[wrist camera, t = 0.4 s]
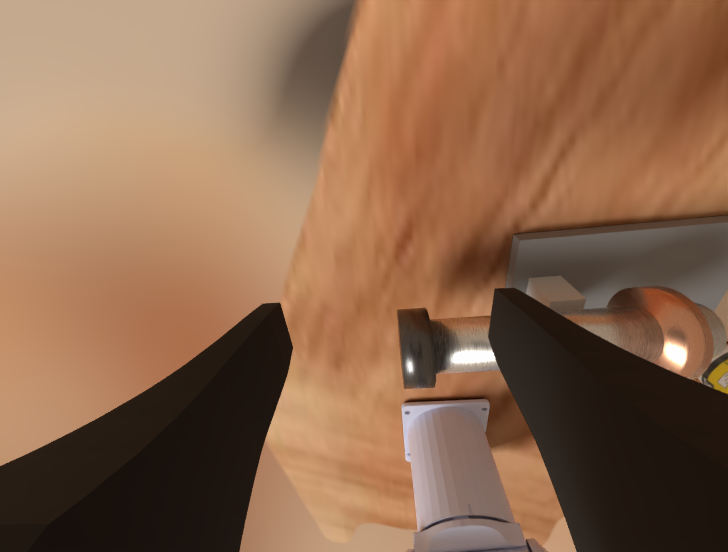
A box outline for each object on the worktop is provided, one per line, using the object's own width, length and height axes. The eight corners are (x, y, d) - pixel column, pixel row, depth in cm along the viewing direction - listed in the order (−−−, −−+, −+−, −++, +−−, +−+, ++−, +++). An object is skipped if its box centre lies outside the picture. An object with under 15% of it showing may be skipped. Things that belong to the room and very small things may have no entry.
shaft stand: (736, 314, 22) (877, 395, 16) (498, 329, 23) (543, 409, 17) (805, 208, 18) (1030, 262, 12) (513, 234, 19) (578, 294, 13)
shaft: (640, 334, 19) (719, 401, 15) (399, 348, 20) (406, 414, 16) (672, 266, 17) (778, 323, 12) (395, 288, 18) (402, 346, 14)
